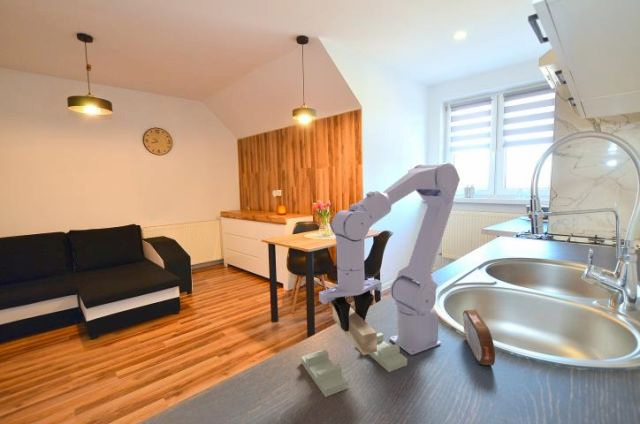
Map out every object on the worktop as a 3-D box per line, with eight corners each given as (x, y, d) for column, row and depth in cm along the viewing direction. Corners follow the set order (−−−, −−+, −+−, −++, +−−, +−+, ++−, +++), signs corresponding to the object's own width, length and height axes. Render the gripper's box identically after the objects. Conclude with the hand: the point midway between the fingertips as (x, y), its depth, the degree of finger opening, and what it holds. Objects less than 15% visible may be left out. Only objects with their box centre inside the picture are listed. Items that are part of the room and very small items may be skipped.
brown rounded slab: (496, 374, 62) (497, 335, 61) (479, 372, 63) (480, 334, 62) (474, 335, 77) (474, 303, 75) (460, 334, 77) (461, 303, 76)
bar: (344, 316, 74) (343, 300, 74) (377, 351, 59) (376, 332, 59) (332, 318, 73) (332, 303, 73) (363, 355, 58) (362, 335, 58)
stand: (374, 339, 77) (374, 327, 76) (407, 365, 66) (407, 352, 66) (301, 363, 68) (300, 350, 68) (325, 397, 57) (324, 382, 57)
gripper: (368, 257, 71) (369, 312, 73) (311, 267, 65) (314, 327, 66) (387, 264, 65) (388, 324, 66) (326, 277, 58) (329, 342, 60)
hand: (352, 327), depth 66 cm, fingers closed on bar, 3 cm apart
